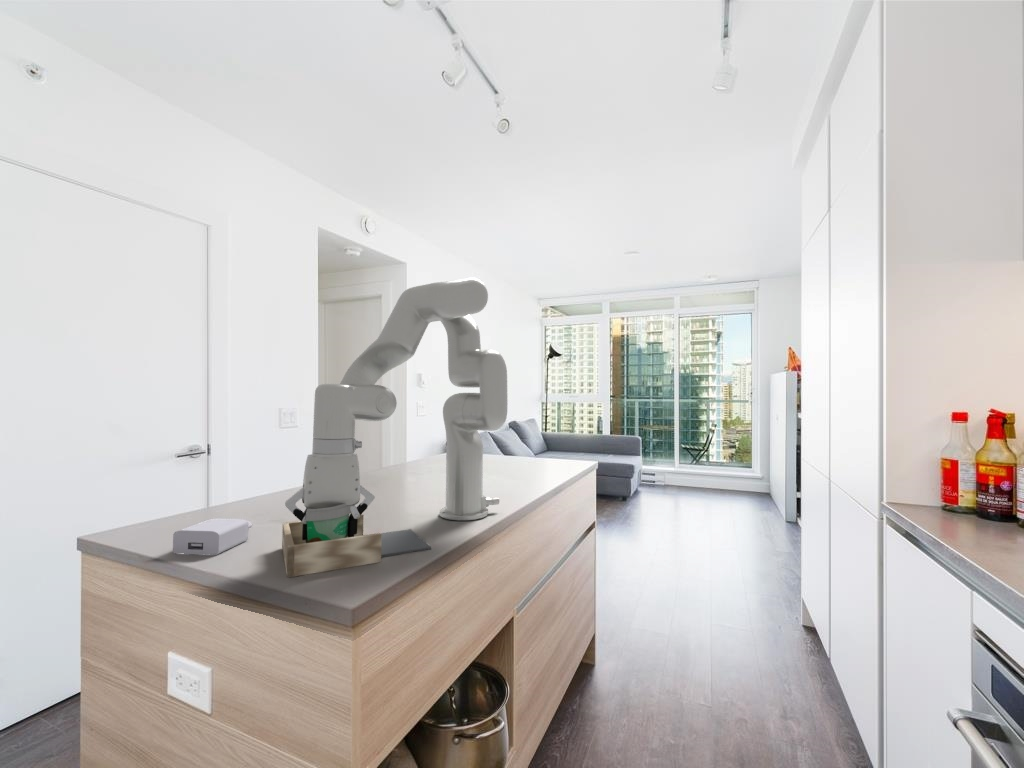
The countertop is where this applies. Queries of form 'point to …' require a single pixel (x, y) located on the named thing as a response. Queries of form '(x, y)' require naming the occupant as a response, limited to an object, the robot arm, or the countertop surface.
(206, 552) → the charger
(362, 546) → the open box
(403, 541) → the mat
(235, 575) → the countertop surface
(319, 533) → the food container
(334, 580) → the countertop surface
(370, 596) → the countertop surface
